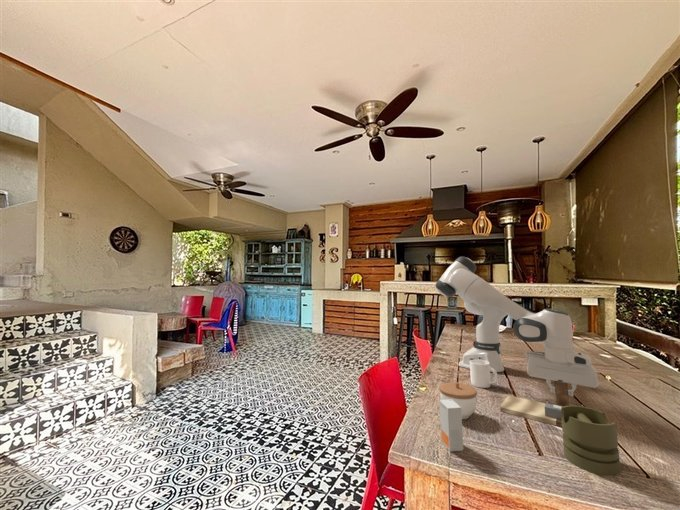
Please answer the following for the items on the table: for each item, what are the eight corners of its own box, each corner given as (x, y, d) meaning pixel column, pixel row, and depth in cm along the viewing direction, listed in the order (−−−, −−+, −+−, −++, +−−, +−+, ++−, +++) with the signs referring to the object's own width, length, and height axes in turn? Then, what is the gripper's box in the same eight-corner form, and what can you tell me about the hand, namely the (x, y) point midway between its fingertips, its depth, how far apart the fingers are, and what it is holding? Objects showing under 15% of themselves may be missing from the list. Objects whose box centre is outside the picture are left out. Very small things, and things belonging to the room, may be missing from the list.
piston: (603, 408, 81) (625, 428, 70) (606, 453, 80) (630, 480, 69) (554, 403, 85) (569, 421, 74) (557, 445, 84) (573, 470, 73)
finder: (545, 415, 98) (544, 405, 99) (546, 411, 101) (546, 402, 102) (567, 421, 94) (566, 411, 95) (568, 417, 97) (567, 406, 98)
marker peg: (555, 406, 102) (553, 378, 103) (556, 402, 105) (554, 376, 106) (569, 409, 100) (566, 381, 100) (569, 405, 102) (567, 378, 103)
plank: (500, 411, 105) (500, 406, 105) (508, 398, 116) (508, 395, 116) (586, 433, 90) (585, 428, 90) (586, 416, 100) (585, 412, 100)
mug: (502, 387, 128) (501, 364, 128) (494, 392, 123) (492, 367, 123) (476, 380, 137) (475, 358, 138) (467, 384, 132) (466, 361, 133)
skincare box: (440, 440, 87) (438, 399, 88) (453, 439, 88) (452, 398, 89) (449, 452, 81) (447, 408, 82) (464, 451, 82) (462, 407, 82)
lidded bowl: (461, 426, 95) (459, 392, 96) (432, 411, 106) (431, 380, 107) (485, 417, 101) (484, 385, 102) (456, 404, 112) (455, 374, 113)
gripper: (523, 351, 108) (526, 389, 107) (596, 361, 95) (600, 404, 94) (526, 348, 113) (528, 384, 112) (596, 357, 100) (599, 398, 98)
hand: (561, 394), depth 103 cm, fingers closed on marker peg, 4 cm apart
